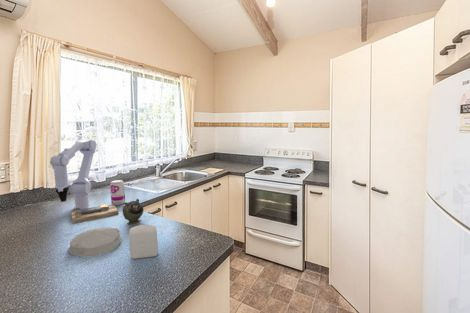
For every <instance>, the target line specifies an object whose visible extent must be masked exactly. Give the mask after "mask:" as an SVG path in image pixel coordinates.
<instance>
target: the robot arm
mask: <svg viewBox="0 0 470 313" xmlns="http://www.w3.org/2000/svg"><path fill="white" fill-rule="evenodd" d="M96 142H97V141H96V140H95V139H94V138H89V139H83V138H79V139H77V140H75V143H74V144H73V145H72V146H71V147H70V148H69V147H68V148H63V151H61V152H60V153H58V154H57V155H53V156H52V157H50V161H49V163H50V165H51V167H52V170H53V174H54V181H55V182H54V183H55V185H54V187H55V188H56V189H55V193H56V194H57V195H58V197H59V200H60V202H61V203H62V202H63V203H64V202H67V199H68V198H67V197H68V196H67V195H68V192H69V191H70V194H72V196H73V197H74V209H75V208H77V207H80V209H86V208H91V206H90V199H89V194H90V192H91V191H92V182H91V181H90V180H89V175H90V170H91V168H92V163H93V158H94V154H95V153H96V150H97V143H96ZM77 152H80V153H81V154H82V155H83V156H82V160H81V165H80V169H79V171H78V176H77V178H76V179H75V180H73V181H72V183H69V178H68V170H67V169H68V167H67V166H68V165H69V163H70V161H71V159H73V158H74V157H75V156H76V153H77Z"/></svg>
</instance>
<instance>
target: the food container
mask: <svg viewBox="0 0 470 313" xmlns="http://www.w3.org/2000/svg"><path fill="white" fill-rule="evenodd" d="M122 240H123V238H122V237H121V233H120V229H118V228H117V227H109V226H108V227H97V228H93V229H87V230H86V231H83V232H81V233H80V234H77V235H75V236H74V237H73V238H72V239H71V241H70V243H69V247H68V252H69V253H70V254H71V255H72V256H73V257H74V256H76V257H78V256H79V257H84V256H85V257H84V258H88V256H94V257H96V256H97V255H98V256H100V255H99V254H101V255H104V254H107V253H109V252H112V251H114V250H115V249H117V248H118V247H119V246H120V244H121V242H122Z"/></svg>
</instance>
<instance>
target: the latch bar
mask: <svg viewBox="0 0 470 313" xmlns="http://www.w3.org/2000/svg"><path fill="white" fill-rule="evenodd" d="M108 205H109V204H105V203H104V204H101V205H98V206H92V207H91V206H90V208H86V209H80V210H81V214H82V213H87V212H93V211H98V210H104V209H109V206H108ZM80 210H79V209H77V210H76V211H80Z"/></svg>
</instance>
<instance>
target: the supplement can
mask: <svg viewBox="0 0 470 313" xmlns="http://www.w3.org/2000/svg"><path fill="white" fill-rule="evenodd" d="M109 190H110V202H111V205H115V206H120V205H124V204H125V203H126V189H125V182H124V181H123V179H115V180H112V181H110V184H109ZM124 202H125V203H124Z"/></svg>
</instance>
